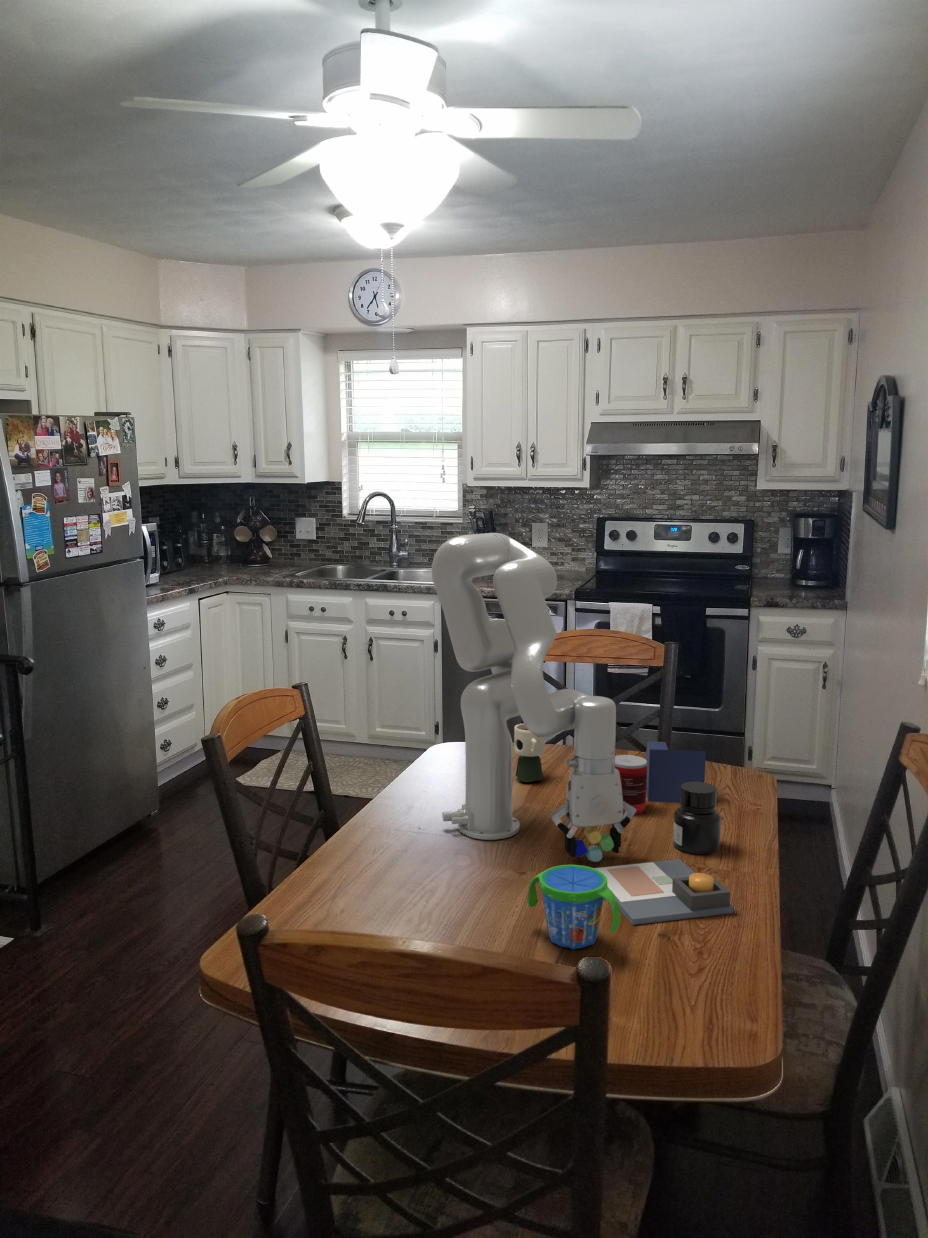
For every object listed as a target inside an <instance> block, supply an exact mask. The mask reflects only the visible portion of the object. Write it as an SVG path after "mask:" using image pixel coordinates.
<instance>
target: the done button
mask: <svg viewBox="0 0 928 1238" xmlns="http://www.w3.org/2000/svg"><path fill="white" fill-rule="evenodd" d="M710 875H711V874H707V873H703V872H695V873H693V874H691V875H690V876H689V889H690V890H691V891H693V892H694V893H701V892H710V891H713V883H714V878H715V877H714V876H713V875H711V876H710Z"/></svg>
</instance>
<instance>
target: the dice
mask: <svg viewBox="0 0 928 1238" xmlns="http://www.w3.org/2000/svg"><path fill="white" fill-rule="evenodd" d="M584 835H585V837H586V839H587V841H588V842H589V843H590V844H591V845H589V846H587V847H586V844H585V842H584V840H583V839H576V857H578V858H579V857H584V856H585V855H586V858H587V860H588V861H590V862H592V863H593V862H594V863H595V862H596V863H597V862H600V861H602V859H603V852H609V851H612V850H611V849H612V848H613V847H614V843H613V840H612V838H611V836H610V833H607V832H606V833H602V834H601V833H600V831H599V829H598V828H597V826H593V827H586V828H585V830H584ZM595 844H598V845H599V846H597V845H595Z"/></svg>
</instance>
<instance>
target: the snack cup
mask: <svg viewBox="0 0 928 1238" xmlns="http://www.w3.org/2000/svg"><path fill="white" fill-rule="evenodd" d="M594 868H595V867H591V866H586V865H580V864H579V865H578V864H561V865H556V866H552V867H549V868H547V869H545V870H544V871H541V872H540V873H538V874H536V875H535V876H534V877H533V878H532V879H531V881H530V882H529V886H528V891H527V896H526V897H527V899H526V900H527V905H528V907H530V908H535V907H536V905H538V902H539V900H538V893H537V892H538V891H537V883H539V884H538V885H539V888H540V892H541V894H542V901H543V907H544V914H545V921H546V927H547V932H548V933H547V934H548V937H549V938H550V942H552V943H553V944H556V945H557V946H559V947H563V948H569V949H571V950H576V949H582V948H586V947H589V946H590V945H592V946H593V945H594V944H595V942H596V939H597V938H598V937H597V936H598V933H599V929H600V928H599V927H600V921H601V917H602V911H603V905H604V900H605V901H607V902H608V904H609V907H610V912H611V915H612V918H611V922H610V929H609V932H610V933H611V934H614V933H615V932H616V931H617V930H618V929H619V927H620V924H621V921H622V920H621V919H622V917H621V911H620V909H619V905H618V901H617V899H616V897H615V895H614V893H613V892H612V891H611V890H610V889H609V888H608V886H607V878H606V876H605V875H604V874H603V873H602V872H600V871H598V870H596V869H594Z"/></svg>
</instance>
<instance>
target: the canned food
mask: <svg viewBox="0 0 928 1238" xmlns="http://www.w3.org/2000/svg"><path fill="white" fill-rule="evenodd" d="M615 769H617V770H618V771H619V773H620V779H621V786H622V796H623V801H625V802H626V803H628V804H630V805H631V806H633V807H634V808H635V809H636V812H635V814H634V816H636V815H641V814H643V813H644V812H645V810H646V807H647V795H646V789H647V760H646V759H645V758H644V757H642V756H638V755H632V754H619V755H615ZM624 814H625V809H623V815H624Z"/></svg>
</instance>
